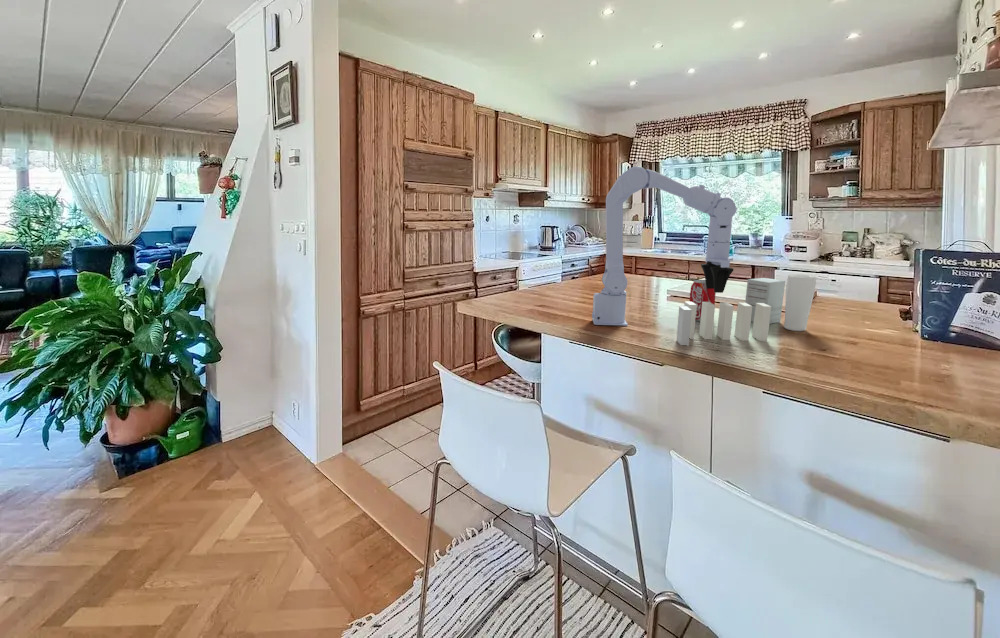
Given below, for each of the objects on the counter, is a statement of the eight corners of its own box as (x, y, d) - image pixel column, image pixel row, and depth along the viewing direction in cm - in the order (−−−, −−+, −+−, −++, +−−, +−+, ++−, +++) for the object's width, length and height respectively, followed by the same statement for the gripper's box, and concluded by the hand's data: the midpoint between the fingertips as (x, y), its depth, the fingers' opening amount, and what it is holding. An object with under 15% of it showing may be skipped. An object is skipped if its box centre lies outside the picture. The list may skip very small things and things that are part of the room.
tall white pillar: (805, 327, 139) (813, 275, 136) (811, 333, 133) (819, 278, 129) (778, 325, 141) (785, 274, 138) (783, 331, 135) (790, 277, 131)
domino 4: (722, 339, 125) (726, 305, 123) (716, 335, 130) (720, 302, 128) (729, 340, 125) (733, 305, 123) (723, 335, 130) (727, 302, 128)
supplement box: (758, 317, 152) (763, 277, 149) (781, 322, 145) (786, 280, 143) (742, 320, 149) (746, 278, 146) (764, 325, 142) (769, 281, 139)
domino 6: (759, 341, 124) (763, 306, 122) (752, 336, 129) (756, 302, 127) (766, 341, 124) (771, 306, 122) (759, 336, 129) (763, 303, 127)
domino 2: (686, 338, 126) (689, 304, 124) (681, 334, 131) (684, 301, 129) (693, 339, 126) (696, 304, 124) (688, 334, 131) (691, 301, 129)
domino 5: (741, 340, 125) (744, 305, 123) (734, 335, 130) (738, 302, 128) (748, 340, 125) (752, 306, 123) (741, 336, 129) (745, 302, 127)
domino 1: (681, 345, 120) (684, 309, 118) (676, 340, 125) (679, 306, 123) (688, 345, 120) (691, 309, 118) (683, 340, 124) (686, 306, 122)
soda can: (715, 323, 144) (719, 283, 141) (690, 322, 145) (693, 282, 143) (710, 318, 151) (713, 279, 148) (686, 317, 152) (689, 279, 149)
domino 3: (704, 339, 126) (707, 305, 124) (699, 334, 131) (702, 301, 129) (711, 339, 126) (715, 305, 124) (706, 335, 130) (709, 301, 128)
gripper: (743, 243, 128) (738, 294, 131) (725, 240, 142) (720, 286, 145) (715, 243, 129) (711, 294, 132) (699, 240, 143) (696, 286, 146)
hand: (714, 290), depth 139 cm, fingers open, 7 cm apart
